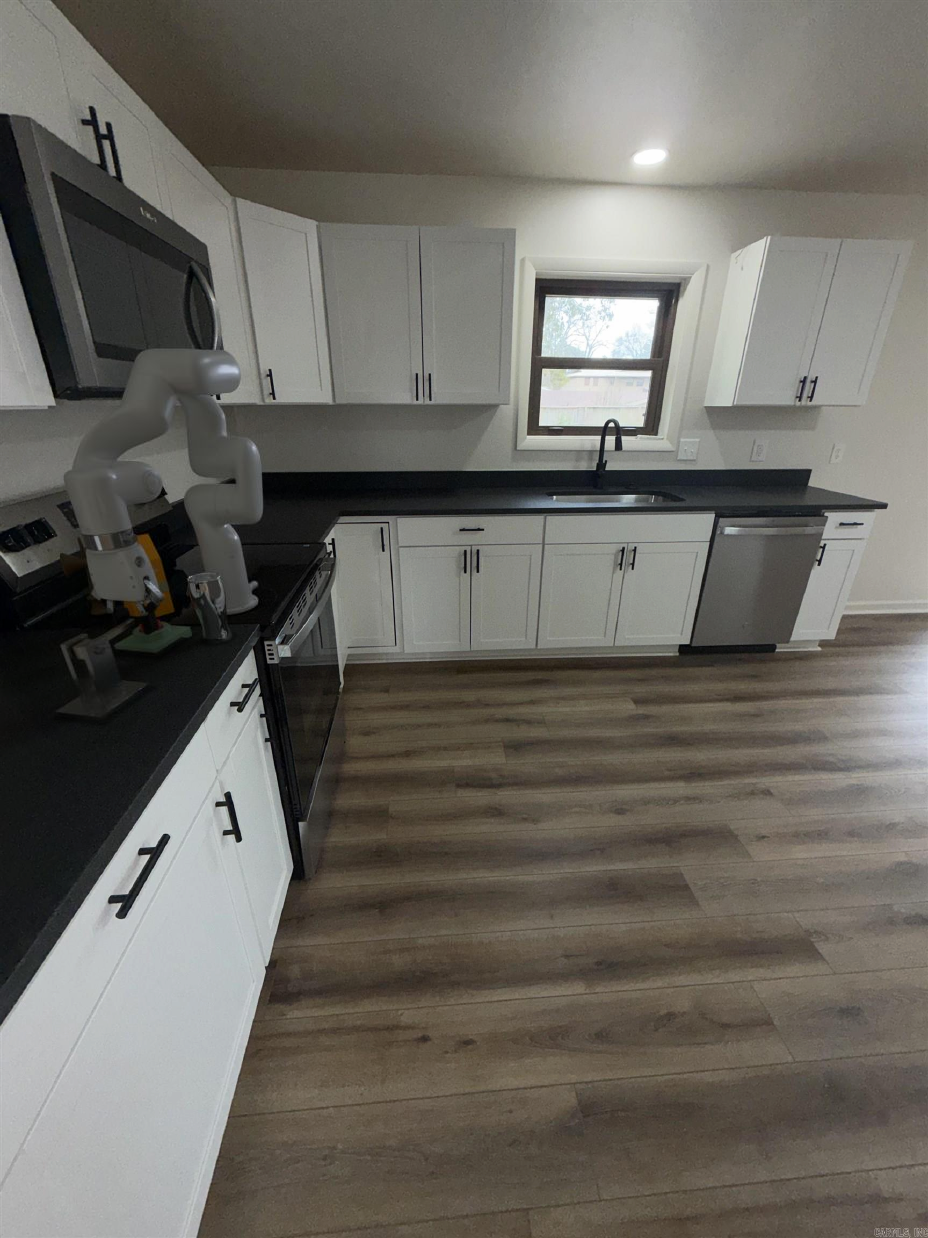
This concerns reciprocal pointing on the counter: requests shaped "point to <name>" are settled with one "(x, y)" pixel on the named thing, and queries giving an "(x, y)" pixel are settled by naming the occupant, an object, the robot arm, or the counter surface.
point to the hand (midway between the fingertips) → (138, 629)
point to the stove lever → (109, 633)
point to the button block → (153, 638)
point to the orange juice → (156, 564)
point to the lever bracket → (95, 678)
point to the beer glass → (210, 605)
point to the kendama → (78, 563)
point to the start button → (154, 631)
